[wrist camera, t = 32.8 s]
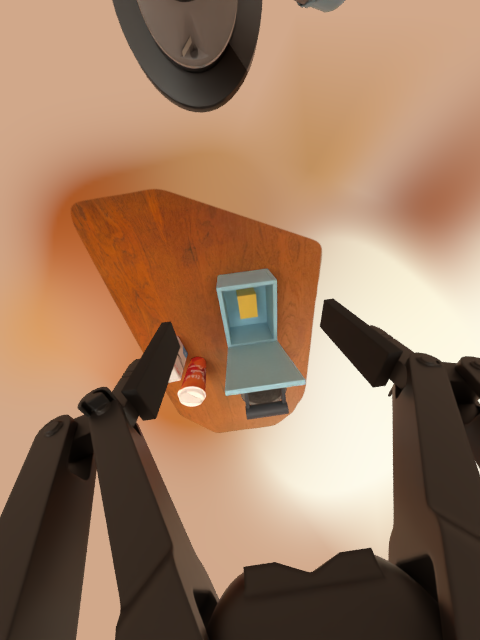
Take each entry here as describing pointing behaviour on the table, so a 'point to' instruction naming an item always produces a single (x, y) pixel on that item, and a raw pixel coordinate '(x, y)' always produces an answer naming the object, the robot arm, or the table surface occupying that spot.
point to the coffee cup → (194, 383)
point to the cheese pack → (247, 303)
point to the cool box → (266, 295)
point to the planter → (264, 396)
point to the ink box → (179, 364)
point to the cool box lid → (261, 375)
